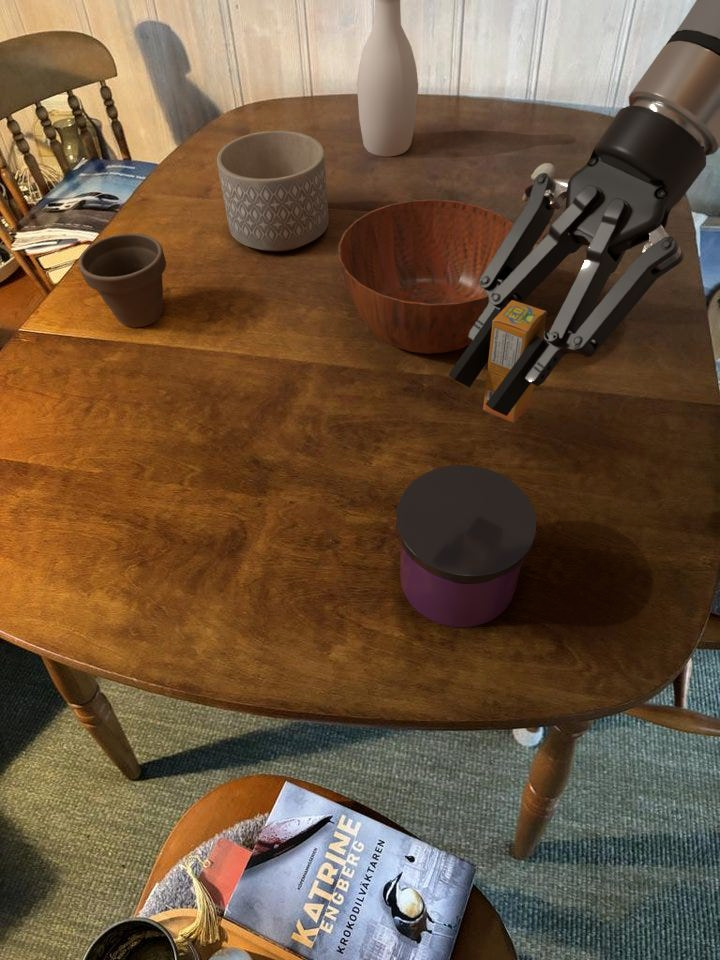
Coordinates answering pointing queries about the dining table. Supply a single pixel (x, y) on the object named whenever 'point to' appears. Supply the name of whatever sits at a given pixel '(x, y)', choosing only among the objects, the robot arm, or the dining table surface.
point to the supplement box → (511, 350)
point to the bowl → (421, 270)
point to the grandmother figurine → (543, 168)
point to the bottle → (387, 84)
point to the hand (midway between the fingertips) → (477, 394)
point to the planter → (274, 189)
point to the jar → (463, 543)
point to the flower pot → (127, 276)
